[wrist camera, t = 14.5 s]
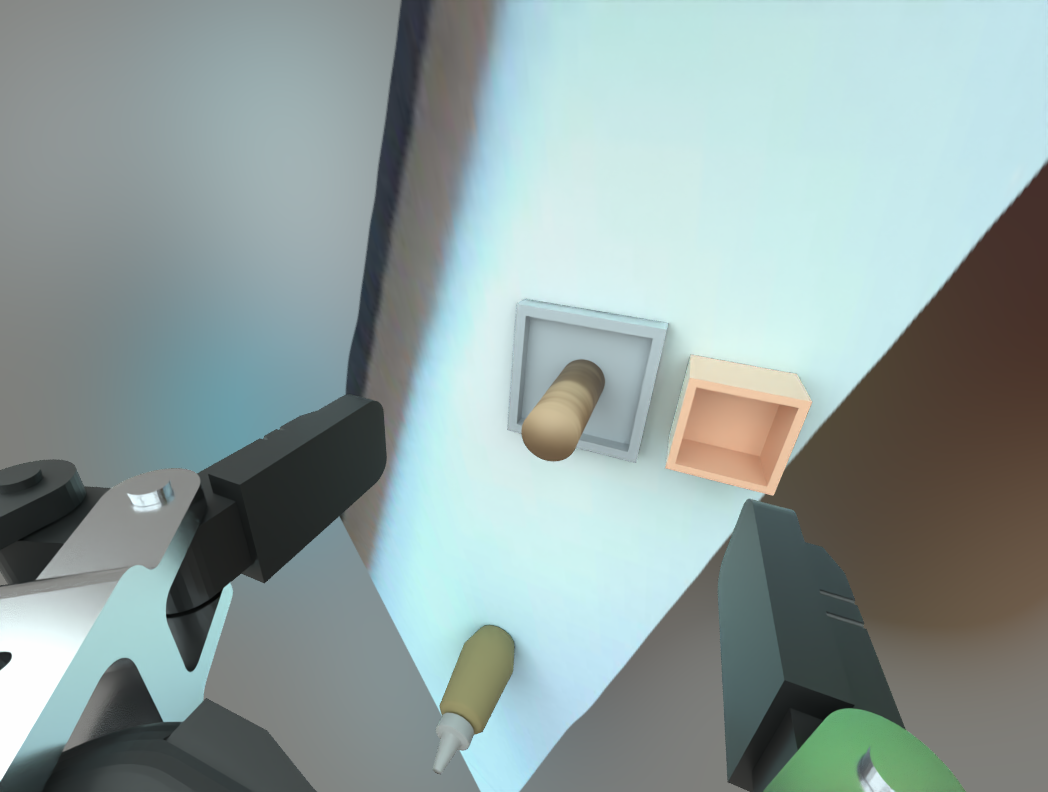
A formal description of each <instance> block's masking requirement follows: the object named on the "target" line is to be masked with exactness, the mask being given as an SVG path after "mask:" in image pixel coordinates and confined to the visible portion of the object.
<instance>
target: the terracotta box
mask: <svg viewBox="0 0 1048 792" xmlns="http://www.w3.org/2000/svg"><path fill="white" fill-rule="evenodd" d="M811 404H812V400H811V399H810V397H809V395H808V393H807V391H806V390H805V388H804V386H803V384H802V382H801V381H800V379H799V377H798V375H797V374H794V373H788V372H783V371H777V370H772V369H767V368H761V367H756V366H750V365H745V364H739V363H734V362H729V361H723V360H718V359H712V358H707V357H701V356H696V355H690V359H689V363H688V366H687V370H686V374H685V378H684V382H683V385H682V389H681V393H680V397H679V401H678V404H677V408H676V412H675V416H674V420H673V423H672V427H671V431H670V435H669V441H668V450H667V458H666V467H665V468H667V469H671V470H674V471H678V472H682V473H686V474H690V475H694V476H698V477H702V478H706V479H710V480H714V481H718V482H722V483H726V484H730V485H733V486H737V487H741V488H745V489H749V490H753V491H757V492H761V493H765V494H769V495H774V493H775V491H776V488H777V486H778V484H779V481H780V478H781V476H782V474H783V471H784V469H785V467H786V464H787V462H788V459H789V457H790V455H791V452H792V450H793V447H794V445H795V442H796V440H797V438H798V435H799V433H800V430H801V428H802V426H803V423H804V421H805V418H806V416H807V413H808V411H809V409H810V406H811Z"/></svg>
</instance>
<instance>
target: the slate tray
mask: <svg viewBox="0 0 1048 792" xmlns="http://www.w3.org/2000/svg"><path fill="white" fill-rule="evenodd" d="M667 328H668V323H665V322H659V321H653V320H647V319H641V318H635V317H629V316H623V315H617V314H611V313H605V312H600V311H594V310H588V309H582V308H576V307H570V306H564V305H558V304H552V303H546V302H540V301H534V300H528V299H524V300H522V301H521V302H519V303H517V307H516V320H515V334H514V347H513V361H512V374H511V387H510V401H509V414H508V428H507V430H509V431H513V432H517V433H521V430H522V425H523V422H524V420H525V419H526V418H527V416H528V415H529V414H530V412H531V411H532V410H533V408H534V407H535V406H536V404H537V403H538V402H539V401H540V399H541V398H542V397H543V395H544V394H545V393H546V391H547V390H548V389H549V387H550V386H551V385H552V383H553V382H554V381H555V380H556V378H557V377H558V376H559V374H560V373H561V372H562V370H563V369H564V368H565V366H566V365H567V364H569V363H570V362H572V361H574V360H579V359H584V360H589V361H591V362H593V363H595V364H596V365H597V366H599V368H600V369H601V370H602V372H603V374H604V377H605V386H604V389H603V391H602V394H601V396H600V398H599V400H598V402H597V404H596V406H595V408H594V410H593V412H592V414H591V417H590V419H589V421H588V423H587V425H586V427H585V429H584V431H583V433H582V435H581V437H580V439H579V442H578V444H577V446H576V448H580V449H584V450H588V451H592V452H595V453H599V454H603V455H607V456H611V457H615V458H619V459H623V460H627V461H631V462H635V463H636V461H637V457H638V453H639V448H640V444H641V440H642V435H643V431H644V427H645V423H646V418H647V414H648V410H649V405H650V401H651V397H652V392H653V388H654V384H655V379H656V375H657V371H658V367H659V362H660V358H661V354H662V349H663V345H664V341H665V336H666V332H667ZM521 434H522V433H521Z"/></svg>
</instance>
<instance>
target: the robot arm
mask: <svg viewBox="0 0 1048 792" xmlns="http://www.w3.org/2000/svg"><path fill="white" fill-rule="evenodd" d="M386 459H387V456H386V441H385V426H384V412H383V408H382V405H381V404H380V403H379V402H377V401H374V400H370V399H366V398H362V397H358V396H355V395H351V394H348V395H344V396H342V397H340V398H339V399H337V400H335V401H334V402H332V403H330V404H328V405H327V406H325V407H323V408H321V409H320V410H318V411H315V412H311V413H308V414H305V415H302V416H299V417H297V418H296V419H294V420H292V421H290V422H289V423H287V424H285V425H283V426H281V427H280V430H277V429H276V430H274V431H272V432H271V433H269V434H267V435H265V436H264V438H263V439H258V440H256V441H254V442H253V443H251V444H249V445H247V446H246V447H244V448H242V449H240V450H238V451H237V452H235V453H233V454H231V455H229V456H228V457H226V458H224V459H222V460H221V461H219V462H217V463H215V464H213V465H212V466H210V467H208V468H206V469H204V470H203V471H201V472H199V473H195V472H193V471H191V470H187V469H180V468H171V469H162V470H155V471H151V472H147V473H143V474H140V475H137V476H134V477H132V478H130V479H127V480H125V481H123V482H121V483H119V484H117V485H116V486H114V487H113V488H100V487H84V485H83V483H82V481H81V478H80V476H79V474H78V472H77V469H76V467H75V465H74V464H72V463H71V462H68V461H64V460H40V461H34V462H28V463H23V464H19V465H16V466H12V467H9V468H5V469H2V470H0V571H1V573H2V575H3V577H4V578H5V580H6V582H7V583H8V585H1V586H0V792H316V790H315V789H313V787H312V786H311V785H310V784H309V782H308V781H307V780H306V779H305V777H304V776H303V775H302V774H301V772H300V771H299V770H298V769H297V767H296V766H295V765H294V764H293V763H292V761H291V760H290V759H289V757H288V756H287V755H286V754H285V752H284V751H283V750H282V749H281V747H280V746H279V745H278V744H277V742H276V741H275V740H274V739H273V737H272V736H271V735H270V734H269V732H268V731H267V730H265V729H263V728H261V727H259V726H257V725H255V724H254V723H252V722H250V721H248V720H246V719H244V718H242V717H241V716H239V715H237V714H235V713H233V712H231V711H229V710H228V709H226V708H224V707H222V706H220V705H218V704H216V703H214V702H213V701H211V700H209V699H207V698H206V699H205V700H204V701H203V695H204V687H205V683H206V680H207V676H208V673H209V670H210V667H211V663H212V660H213V657H214V654H215V650H216V647H217V644H218V641H219V638H220V634H221V631H222V627H223V625H224V621H225V618H226V615H227V611H228V608H229V605H230V602H231V598H232V595H233V587H232V584H231V581H233V580H234V579H235V578H236V577H237V576H239V575H240V574H244V575H246V576H248V577H251V578H253V579H255V580H258V581H260V582H263V583H265V582H266V581H268V579H270V578H271V577H272V576H273V575H274V574H275V573H276V572H277V571H279V570H280V569H281V568H282V567H283V566H284V565H285V564H286V563H288V562H289V561H290V560H291V559H292V558H293V557H294V556H295V555H296V554H297V553H299V552H300V551H301V550H302V549H303V548H304V547H305V546H306V545H307V544H309V543H310V542H311V541H312V540H313V539H314V538H315V537H316V536H318V535H319V534H320V533H321V532H322V531H323V530H324V529H325V528H326V527H327V526H329V525H330V524H331V523H332V522H333V521H334V520H335V519H336V518H338V517H339V516H340V515H341V514H342V513H343V512H344V511H345V510H346V509H348V508H349V507H350V506H351V505H352V504H353V503H354V502H355V501H356V500H357V499H359V498H360V497H361V496H362V495H363V494H364V493H365V492H366V491H367V490H369V489H370V488H371V487H372V486H373V485H374V484H375V483H376V482H377V481H378V480H379V479H380V477H381V475H382V473H383V471H384V469H385V465H386ZM854 602H855V598H854V596H853V593H852V591H851V588H850V586H849V583H848V580H847V578H846V575H845V573H844V572H843V571H842V569H841V568H840V567H839V566H838V565H837V563H835V561H834V560H833V559H832V558H831V556H829V554H828V553H827V552H826V551H825V549H824V548H823V547H820V546H817V545H813V544H809V543H806V542H804V539H803V535H802V532H801V529H800V526H799V522H798V519H797V516H796V513H795V512H794V511H793V510H790V509H787V508H782V507H778V506H775V505H771V504H767V503H763V502H760V501H756V500H752V499H748V500H747V501H746V502H745V504H744V506H743V508H742V510H741V513H740V516H739V518H738V521H737V523H736V526H735V529H734V531H733V534H732V537H731V539H730V542H729V545H728V547H727V550H726V552H725V555H724V558H723V561H722V564H721V568H720V573H719V581H718V605H719V624H720V643H721V660H722V661H721V663H722V682H723V700H724V720H725V740H726V759H727V777H728V782H729V783H731V784H733V785H736V786H738V787H740V788H743V789H745V790H747V791H750V792H966V791H965V790H964V788H963V787H962V786H961V784H960V783H959V781H958V780H957V779H956V777H955V776H954V775H953V773H952V772H951V771H950V770H949V769H948V767H947V766H946V765H945V764H944V763H943V762H942V761H941V760H940V759H939V758H938V757H937V756H936V755H935V754H934V753H933V752H932V751H931V750H930V749H929V748H928V747H927V746H926V745H924V744H923V743H922V742H921V741H920V740H918V739H917V738H916V737H914V736H913V735H912V734H911V733H909V732H908V731H906V729H905V727H904V724H903V722H902V719H901V717H900V714H899V711H898V709H897V706H896V704H895V701H894V699H893V696H892V693H891V691H890V688H889V686H888V683H887V681H886V678H885V676H884V673H883V671H882V668H881V665H880V663H879V660H878V657H877V655H876V652H875V650H874V647H873V645H872V642H871V640H870V637H869V635H868V632H867V629H864V628H863V625H864V622H863V619H862V616H861V614H860V611H859V609H858V606H857V605H855V604H854Z"/></svg>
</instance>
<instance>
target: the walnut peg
mask: <svg viewBox="0 0 1048 792" xmlns="http://www.w3.org/2000/svg"><path fill="white" fill-rule="evenodd" d="M604 386H605V377H604V374H603V372H602V370H601V369H600V368H599V366H597V365H596V364H595V363H593V362H591V361H589V360H584V359H579V360H574V361H572V362H570V363H569V364H567V365H566V366H565V368H564V369H563V370H562V372H561V373H560V374H559V376H558V377H557V378H556V380H555V381H554V382H553V383H552V385H551V386H550V387H549V389H548V390H547V391H546V393H545V394H544V395H543V397H542V398H541V399H540V401H539V402H538V403H537V404H536V406H535V407H534V408H533V410H532V411H531V412H530V414H529V415H528V416H527V418H526V419H525V420H524V422H523V425H522V430H521V433H522V438H523V441H524V443H525V445H526V447H527V448H528V449H529V450H530V452H532V453H533V454H534V455H535V456H537V457H539V458H541V459H543V460H547V461H560V460H563V459H566V458H567V457H569V456H570V455H571V454H572V453H573V451H574V450H575V448H576V446H577V444H578V442H579V439H580V437H581V435H582V433H583V431H584V429H585V427H586V425H587V423H588V421H589V419H590V417H591V414H592V412H593V410H594V408H595V406H596V404H597V402H598V400H599V398H600V396H601V394H602V391H603V389H604Z"/></svg>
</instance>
